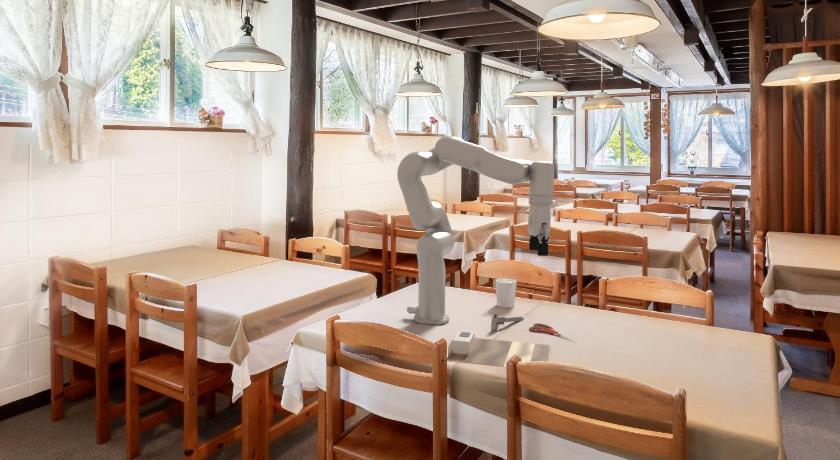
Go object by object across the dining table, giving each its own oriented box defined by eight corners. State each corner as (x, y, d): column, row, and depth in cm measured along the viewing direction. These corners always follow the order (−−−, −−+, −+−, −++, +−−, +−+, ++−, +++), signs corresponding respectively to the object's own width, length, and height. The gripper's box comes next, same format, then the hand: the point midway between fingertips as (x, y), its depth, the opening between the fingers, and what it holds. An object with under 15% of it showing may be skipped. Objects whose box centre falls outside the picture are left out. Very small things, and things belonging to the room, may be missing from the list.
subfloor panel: (439, 361, 170) (439, 359, 170) (455, 337, 191) (455, 336, 191) (545, 372, 162) (545, 371, 162) (549, 346, 183) (549, 345, 183)
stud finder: (452, 353, 175) (452, 339, 174) (458, 343, 184) (458, 330, 183) (469, 354, 174) (469, 341, 173) (474, 344, 182) (474, 332, 182)
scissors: (579, 346, 185) (579, 341, 184) (524, 330, 199) (524, 326, 199) (591, 340, 190) (592, 336, 190) (537, 326, 205) (537, 322, 205)
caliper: (493, 333, 196) (494, 315, 195) (490, 333, 196) (491, 314, 196) (523, 319, 211) (524, 302, 210) (521, 319, 212) (521, 302, 211)
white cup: (494, 307, 226) (495, 282, 224) (495, 302, 233) (496, 277, 232) (515, 308, 224) (516, 283, 223) (515, 303, 232) (516, 278, 230)
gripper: (522, 197, 195) (519, 247, 198) (537, 202, 178) (534, 258, 181) (544, 197, 196) (541, 247, 198) (561, 203, 179) (558, 258, 181)
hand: (538, 252), depth 189 cm, fingers open, 9 cm apart
